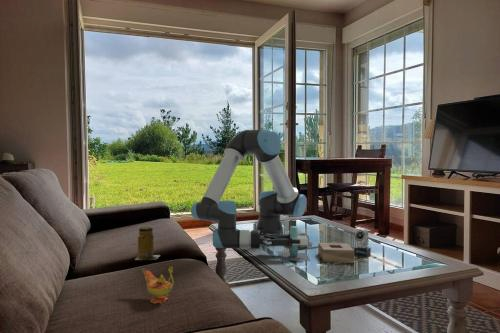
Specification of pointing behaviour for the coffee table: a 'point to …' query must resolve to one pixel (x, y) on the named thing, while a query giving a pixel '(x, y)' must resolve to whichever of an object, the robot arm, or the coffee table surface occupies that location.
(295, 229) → the dowel
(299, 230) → the ceramic mug
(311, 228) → the coffee table surface
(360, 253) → the watch
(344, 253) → the socket block
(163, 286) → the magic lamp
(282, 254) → the mat
